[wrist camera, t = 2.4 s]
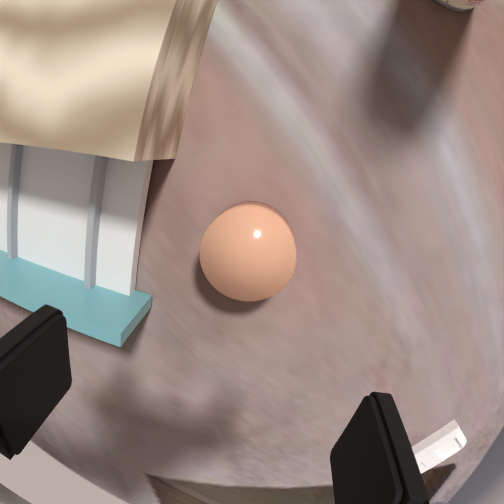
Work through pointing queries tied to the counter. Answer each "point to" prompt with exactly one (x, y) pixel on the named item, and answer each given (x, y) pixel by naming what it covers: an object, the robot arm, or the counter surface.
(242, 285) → the glossy peach ball
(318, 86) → the counter surface
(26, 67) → the cabinet
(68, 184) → the drawer
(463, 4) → the aerosol can
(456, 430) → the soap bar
